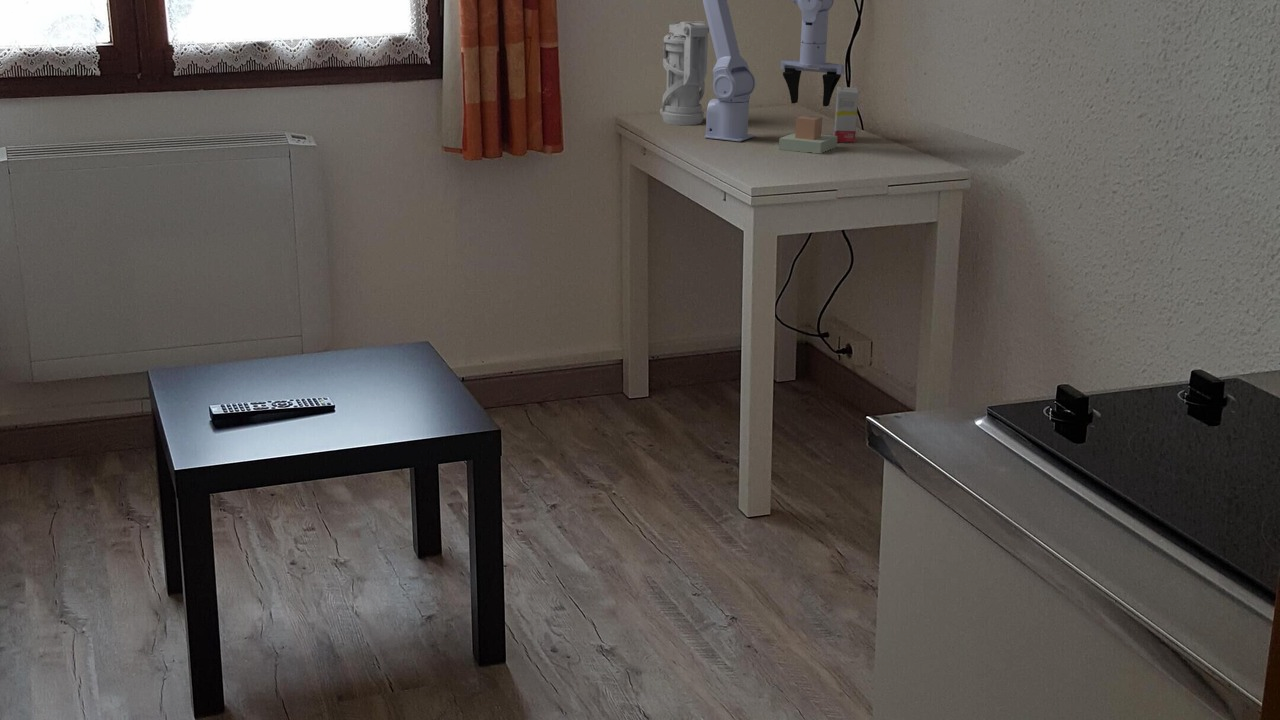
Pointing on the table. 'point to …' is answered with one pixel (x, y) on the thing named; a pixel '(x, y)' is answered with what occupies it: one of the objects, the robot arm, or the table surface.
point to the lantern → (685, 72)
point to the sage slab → (807, 143)
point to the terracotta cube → (808, 127)
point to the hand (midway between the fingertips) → (810, 104)
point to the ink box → (846, 114)
